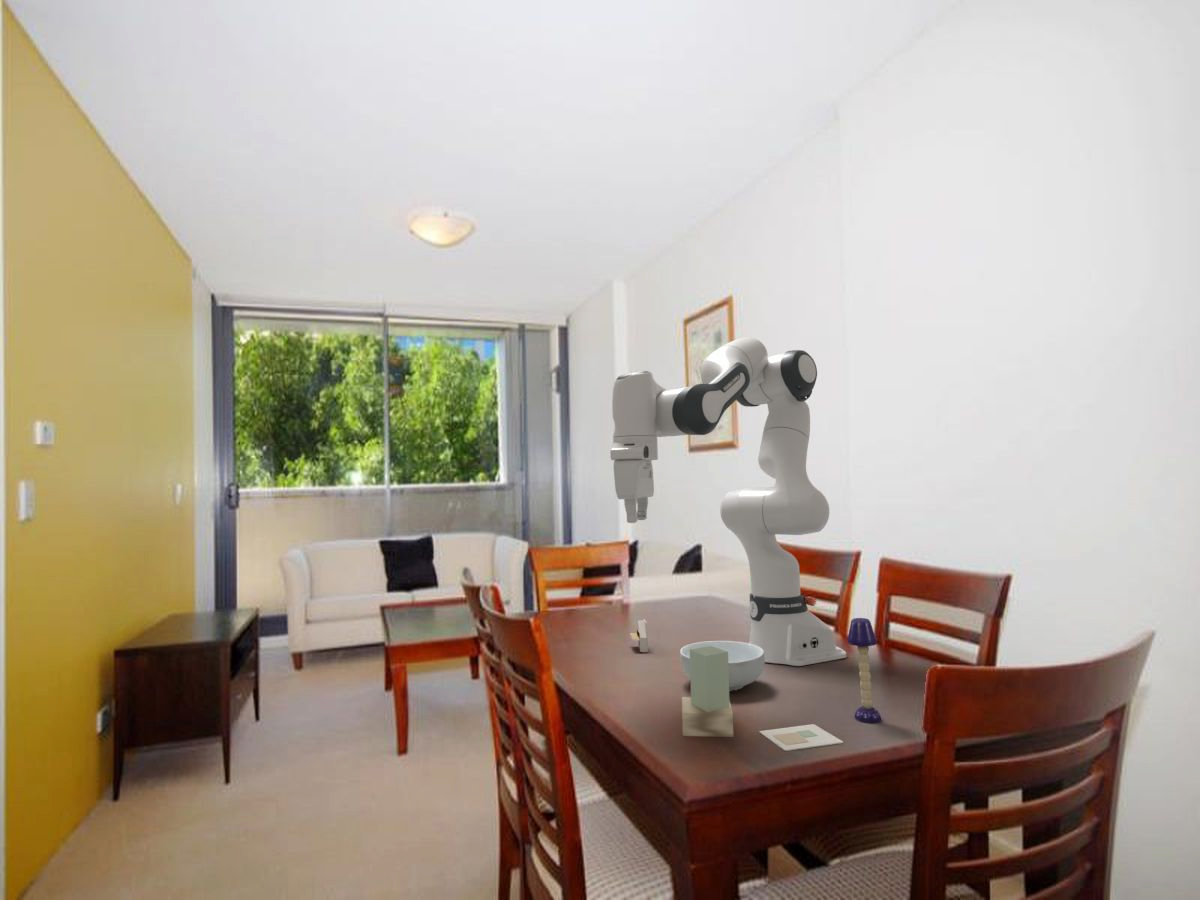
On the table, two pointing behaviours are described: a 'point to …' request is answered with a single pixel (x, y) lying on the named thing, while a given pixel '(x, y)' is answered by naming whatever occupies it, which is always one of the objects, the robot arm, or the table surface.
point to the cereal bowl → (732, 661)
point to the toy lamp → (864, 667)
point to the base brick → (706, 721)
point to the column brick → (709, 678)
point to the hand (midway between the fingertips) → (637, 521)
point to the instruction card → (800, 737)
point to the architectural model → (641, 636)
